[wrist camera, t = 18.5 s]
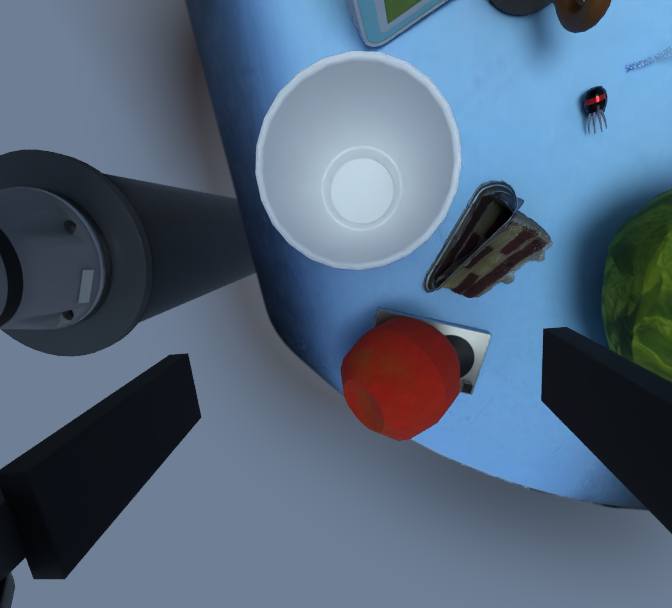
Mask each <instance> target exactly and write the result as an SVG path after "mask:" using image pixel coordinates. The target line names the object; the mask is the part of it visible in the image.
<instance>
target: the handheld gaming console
mask: <svg viewBox="0 0 672 608" xmlns="http://www.w3.org/2000/svg"><path fill="white" fill-rule="evenodd" d="M446 1H448V0H347V4H348V7H349V11H350V14H351V18H352V21H353V23H354V25H355V27H356V28H357V30H358V32H359V34H360V36H361V38H362V40H363V41H364V43H365V44H366V45H368V46H371V47H377V46H381V45H383V44H385V43H387V42H388V41H390V40H391V39H393V38H394V37H396V36H397V35H399V34H400V33H402V32H403V31H404V30H406V29H407V28H409V27H410V26H412V25H413V24H415V23H416V22H417V21H419V20H420V19H422V18H423V17H425V16H426V15H428V14H429V13H431V12H432V11H433V10H435V9H436V8H438V7H439V6H441V5H442V4H444V3H445V2H446Z"/></svg>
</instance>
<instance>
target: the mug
mask: <svg viewBox="0 0 672 608" xmlns="http://www.w3.org/2000/svg"><path fill="white" fill-rule="evenodd" d="M491 1H492V3H493V4H494V5H495V6H496V7H497V8H499V9H500V10H502V11H504V12H506V13H509V14H513V15H526V14H531V13H534V12H537V11H539V10H541V9H543V8H544V7H546V6H547V5H549V4H550V3H551V2H552V3H553V4H554V5H555V9H556V13H557V16H558V19H559V21H560V23H561V25H562V26H563V27H564V28H565V29H566V30H567V31H570V32H573V33H578V32H585V31H587V30H588V29H590V28H592V27H593V26H595V25H596V24H597V23H598V22H599V21H600V19H601V18H602V17H603V16H604V15H605V13H606V11H607V9H608V8H609V6H610V3H611V0H585V1H583V0H491Z"/></svg>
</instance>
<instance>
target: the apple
mask: <svg viewBox="0 0 672 608" xmlns="http://www.w3.org/2000/svg"><path fill="white" fill-rule="evenodd" d="M341 376H342V384H343V392H344V397H345V399H346V401H347V404H348V406H349V407H350V408H351V410H352V411H353V413H354V414H355V415H356V417H357V418H358V419H359V420H360V421H361V423H363V424H364V425H365V426H366V427H367V428H368V429H370V430H373V431H375V432H377V433H380V434H382V435H385V436H388V437H390V438H393V439H395V440H398V441H401V440H407V439H411V438H413V437H414V436H416V435H418V434H419V433H421V432H423V431H424V430H426V429H428V428H430V427H431V426H433V425H435V424H436V423H438V421H439V420H440V419H441V418H442V416H443V415H444V414H445V412H446V411H447V410H448V408H449V407H450V406H451V405H452V403H453V402H454V400H455V399H456V397H457V396H458V394H459V393H460V362H459V359H458V355H457V352H456V349H455V348H454V346H453V345H452V344H451V342H450V341H449V340H448V339H447V337H446V336H445V335H444V334H442V333H441V332H440V331H439V330H437V329H436V328H435V327H434V326H432V325H430V324H428V323H425V322H423V321H421V320H418V319H414V318H409V317H399V318H391V319H389V320H387V321H386V322H384V323H382V324H380V325H378V326H377V327H375V328H373V329H371V330H370V331H368V332H367V333H365V334H364V335H362V337H361V338H360V339H359V340H358V341H357V343H356V344H355V345H354V346H353V347H352V349H351V350H350V351H349V352H348V354H347V355H346V356H345V357H344V358H343V362H342V366H341Z"/></svg>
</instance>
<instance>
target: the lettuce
mask: <svg viewBox="0 0 672 608" xmlns="http://www.w3.org/2000/svg"><path fill="white" fill-rule="evenodd" d="M601 309H602V319H603V324H604V329H605V333H606V338H607V341H608V345H609V349H610V350H611V351H613V352H615V353H617V354H619V355H621V356H622V357H624V358H626V359H628V360H630V361H632V362H634V363H636V364H638V365H640V366H641V367H643V368H645V369H647V370H649V371H651V372H653V373H655V374H657V375H659V376H660V377H662V378H664V379H666V380H668V381H670V382H672V189H670V190H668V191H666V192H663V193H661V194H659V195H658V196H657V197H655V198H654V199H653V200H651V201H650V202H649V203H647V204H646V205H645V206H644V207H642V208H641V209H640V210H638V211H637V212H636V213H634V214H633V215H632V216H630V217H629V218H628V219H626V220H625V221H624V222H623V224H622V225H621V227H620V228H619V230H618V232H617V233H616V235H615V236H614V238H613V240H612V241H611V243H610V244H609V246H608V249H607V256H606V263H605V270H604V278H603V285H602V293H601Z"/></svg>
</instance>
